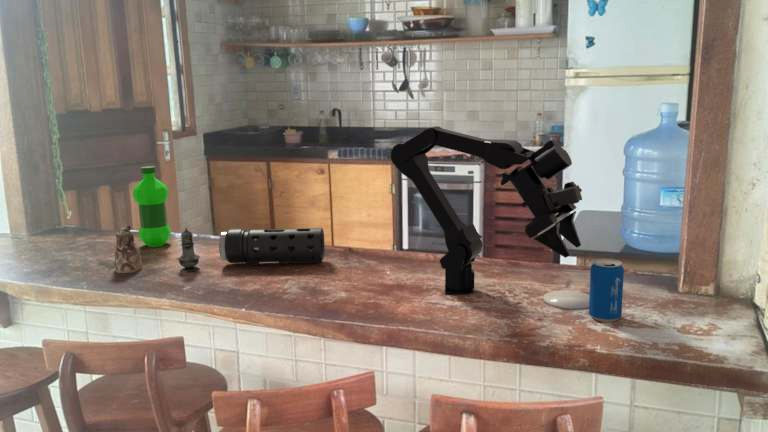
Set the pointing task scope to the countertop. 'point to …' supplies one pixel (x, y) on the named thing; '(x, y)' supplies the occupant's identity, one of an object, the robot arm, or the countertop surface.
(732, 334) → the countertop surface
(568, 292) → the white round disc
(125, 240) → the figurine
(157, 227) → the plastic bottle
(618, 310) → the beverage can
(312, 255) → the muzzle brake
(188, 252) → the salt shaker
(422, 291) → the countertop surface
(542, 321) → the countertop surface
